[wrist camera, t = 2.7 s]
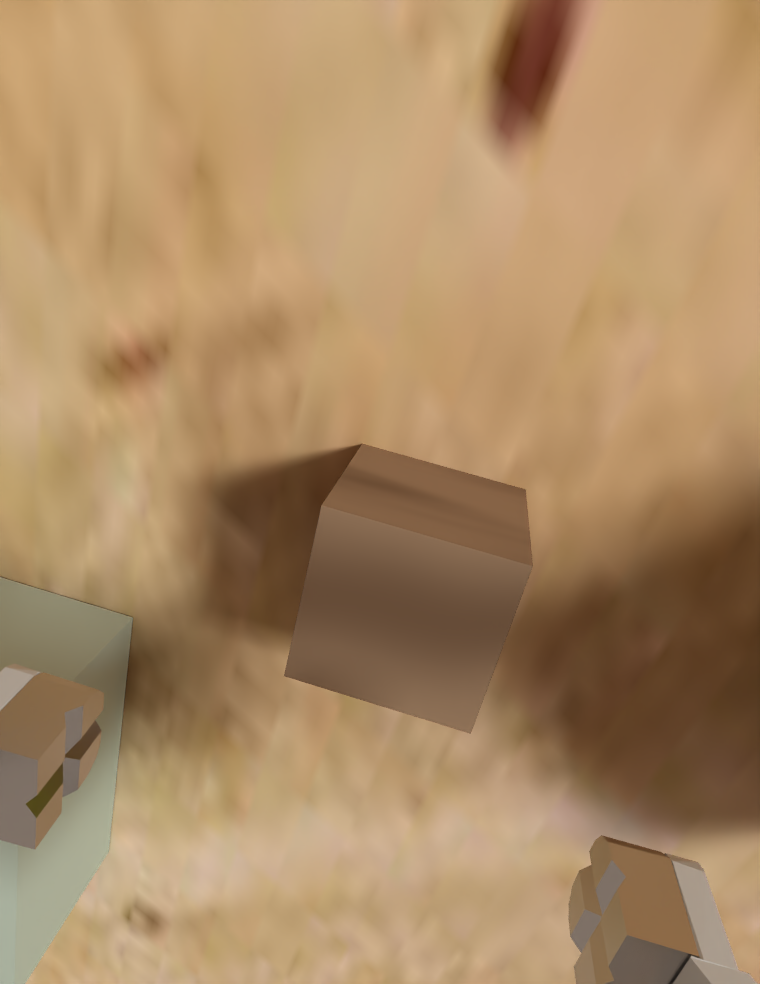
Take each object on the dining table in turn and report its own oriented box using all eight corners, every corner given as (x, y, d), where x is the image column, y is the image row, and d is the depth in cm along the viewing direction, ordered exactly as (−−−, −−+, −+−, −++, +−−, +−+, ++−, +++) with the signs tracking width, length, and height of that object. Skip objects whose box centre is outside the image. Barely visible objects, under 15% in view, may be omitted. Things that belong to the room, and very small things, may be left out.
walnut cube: (477, 627, 22) (470, 733, 17) (329, 583, 22) (284, 676, 17) (525, 488, 20) (532, 566, 15) (362, 442, 20) (321, 505, 16)
